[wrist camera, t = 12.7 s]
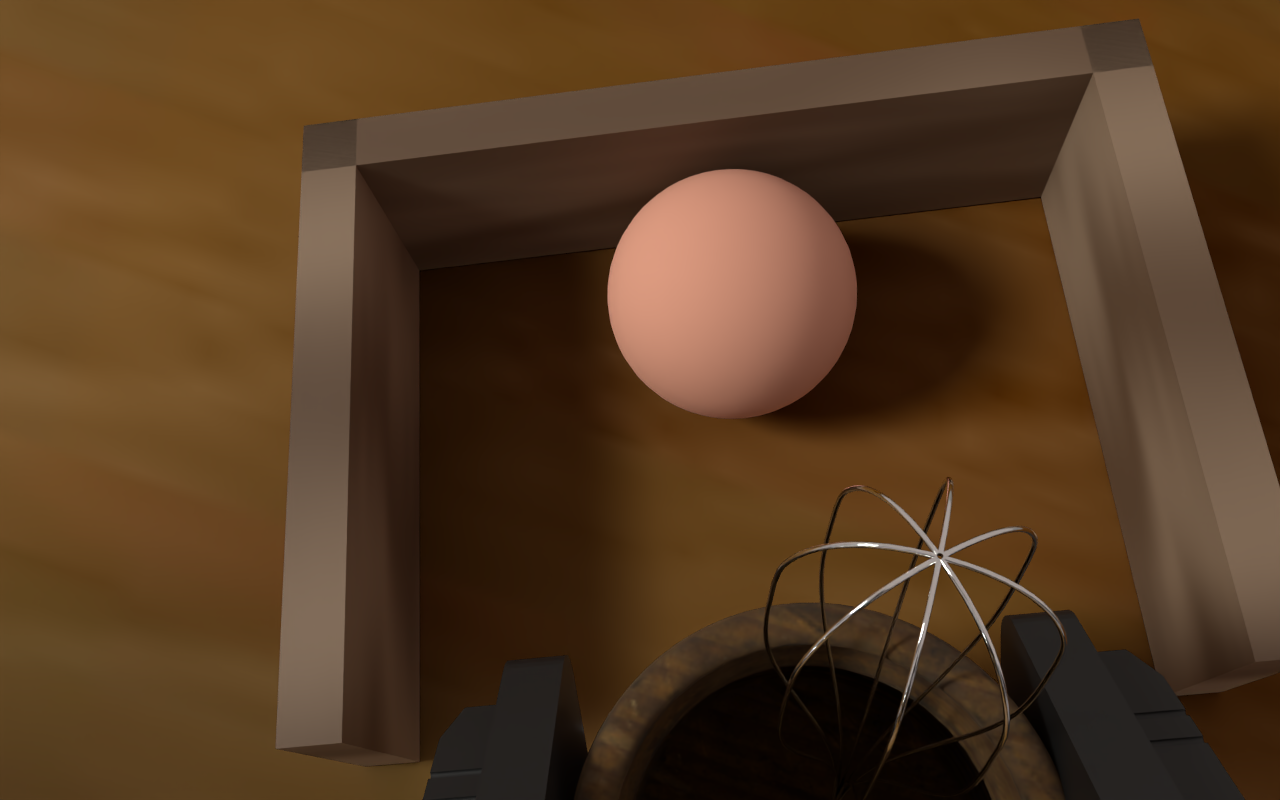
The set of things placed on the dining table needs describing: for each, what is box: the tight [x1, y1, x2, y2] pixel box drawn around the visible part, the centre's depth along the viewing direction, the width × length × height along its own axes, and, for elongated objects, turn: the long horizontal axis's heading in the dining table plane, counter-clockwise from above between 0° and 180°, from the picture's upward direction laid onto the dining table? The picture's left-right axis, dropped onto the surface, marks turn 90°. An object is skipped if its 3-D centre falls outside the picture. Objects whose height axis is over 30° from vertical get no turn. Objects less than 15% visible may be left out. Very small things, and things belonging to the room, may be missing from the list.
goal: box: [276, 19, 1280, 766], centre depth 20 cm, size 11×15×4 cm
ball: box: [608, 169, 857, 419], centre depth 20 cm, size 4×4×4 cm
